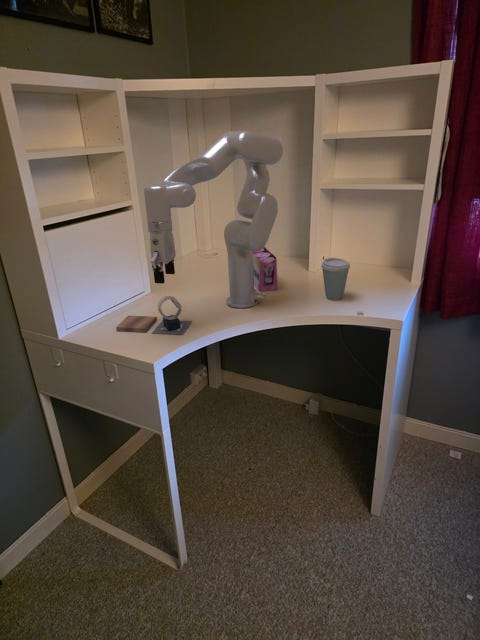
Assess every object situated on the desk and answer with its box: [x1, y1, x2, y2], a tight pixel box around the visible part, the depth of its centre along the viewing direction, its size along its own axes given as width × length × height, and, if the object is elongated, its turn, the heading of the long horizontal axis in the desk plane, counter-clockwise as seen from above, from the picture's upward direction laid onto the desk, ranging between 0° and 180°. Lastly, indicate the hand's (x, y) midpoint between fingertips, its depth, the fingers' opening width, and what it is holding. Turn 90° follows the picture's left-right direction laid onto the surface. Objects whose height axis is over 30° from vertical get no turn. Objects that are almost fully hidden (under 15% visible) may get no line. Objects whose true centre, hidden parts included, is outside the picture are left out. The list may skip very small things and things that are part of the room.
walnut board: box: [115, 315, 158, 333], centre depth 150 cm, size 11×10×2 cm
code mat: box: [151, 319, 193, 336], centre depth 148 cm, size 11×11×1 cm
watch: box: [157, 295, 183, 331], centre depth 145 cm, size 6×8×11 cm
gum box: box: [252, 246, 278, 292], centre depth 183 cm, size 24×8×14 cm, turn 12°
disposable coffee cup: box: [321, 257, 351, 301], centre depth 163 cm, size 11×11×15 cm
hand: (165, 278), depth 140 cm, fingers open, 9 cm apart
